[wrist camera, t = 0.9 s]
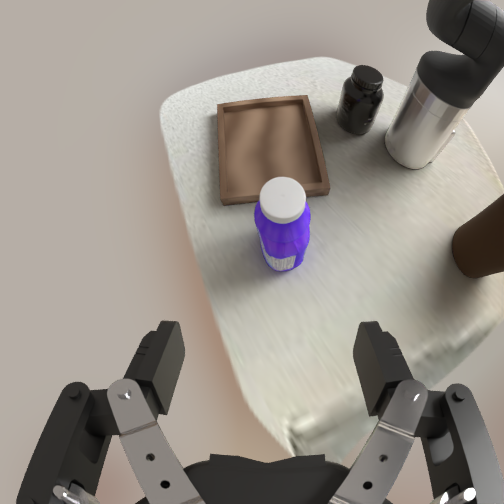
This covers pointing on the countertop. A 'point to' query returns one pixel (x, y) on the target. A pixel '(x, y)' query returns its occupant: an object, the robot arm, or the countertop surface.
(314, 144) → the walnut tray
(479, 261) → the olive oil
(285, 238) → the bottle
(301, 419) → the countertop surface
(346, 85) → the supplement bottle
